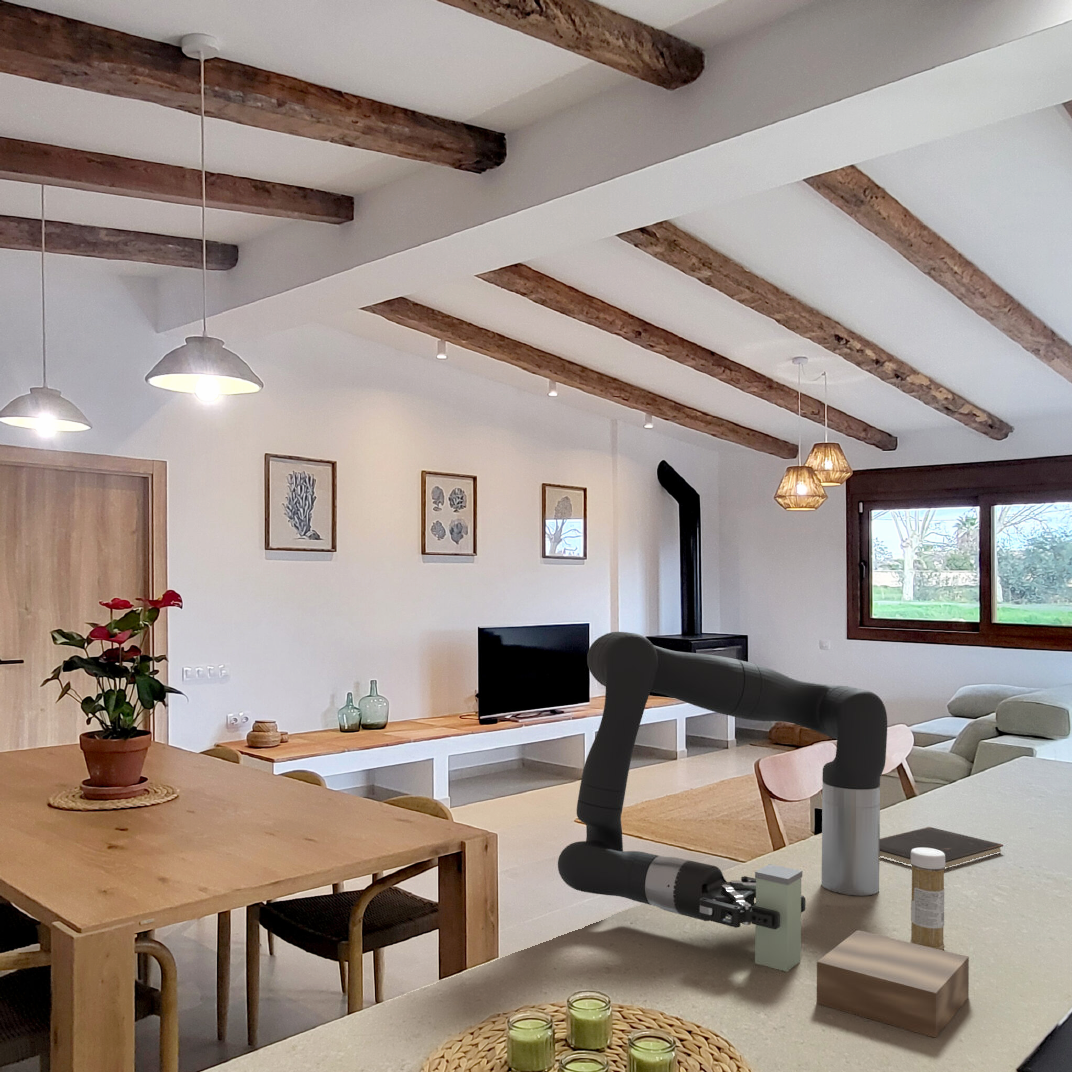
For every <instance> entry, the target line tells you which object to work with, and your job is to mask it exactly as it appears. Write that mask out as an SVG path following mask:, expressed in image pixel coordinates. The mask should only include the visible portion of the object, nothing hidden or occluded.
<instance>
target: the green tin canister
mask: <svg viewBox="0 0 1072 1072" xmlns="http://www.w3.org/2000/svg"><path fill="white" fill-rule="evenodd" d="M754 873H755V874H754V878H756V898H755V903H756V906H758V907H762V908H766V909H771V910H775V911H778V912H779V913H780V927H779V928H777V929H771V928H767V927H763V926H759V925H755V933H754V935H755V936H754V937H755V938H754V940H755V941H754V942H755V943H754V944H755V945H754V947H755V949H754V963H755V964H757V965H760V966H765V967H768V968H772V969H776V970H778V969H779V970H778V971H782V970H783V971H782V972H788V971H790V970H791V969H793V968H794V967H795V966H797V965H798V964H800V962H801V957H802V956H801V949H802V948H801V947H802V946H801V944H802V943H801V942H802V941H801V940H802V938H801V937H802V935H801V934H802V930H801V929H802V913H801V895H802V878H803V870H801V869H800V870H799V869H794V868H790V867H785V866H781V865H776V864H771V863H769V864H768V865H765V866H764V867H761V868H760V869H758V870H756V871H755V872H754Z"/></svg>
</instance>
